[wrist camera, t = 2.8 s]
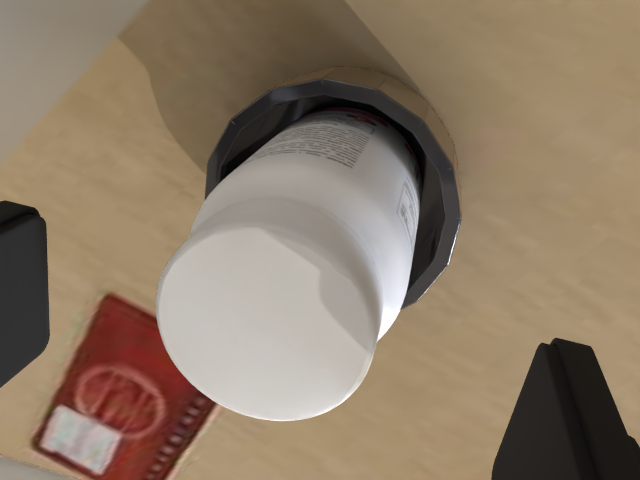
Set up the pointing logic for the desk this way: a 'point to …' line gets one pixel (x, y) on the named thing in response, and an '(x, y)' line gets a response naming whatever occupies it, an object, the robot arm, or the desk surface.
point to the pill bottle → (295, 267)
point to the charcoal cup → (390, 105)
